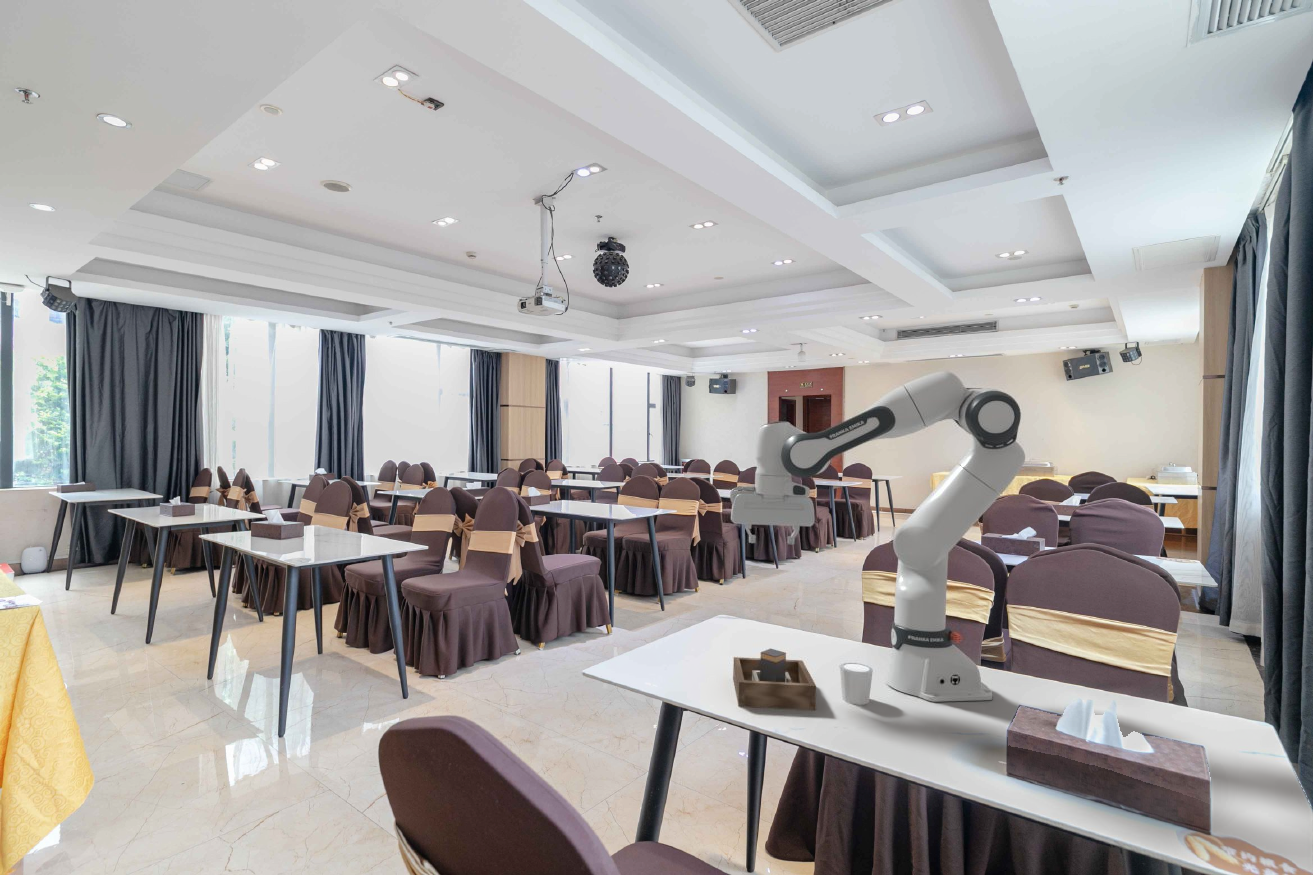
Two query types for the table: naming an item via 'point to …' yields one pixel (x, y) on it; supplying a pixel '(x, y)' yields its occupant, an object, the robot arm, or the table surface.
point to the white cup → (855, 683)
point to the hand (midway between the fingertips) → (771, 543)
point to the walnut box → (773, 686)
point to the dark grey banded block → (772, 666)
